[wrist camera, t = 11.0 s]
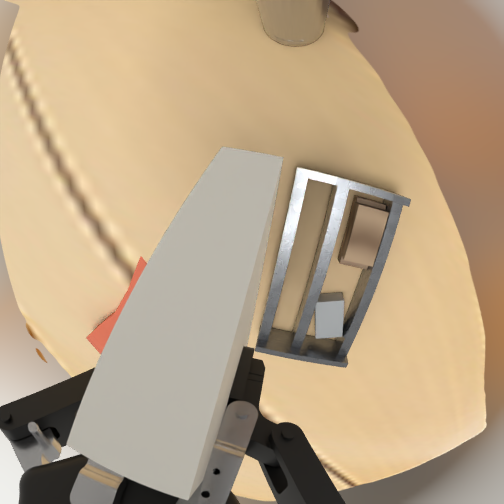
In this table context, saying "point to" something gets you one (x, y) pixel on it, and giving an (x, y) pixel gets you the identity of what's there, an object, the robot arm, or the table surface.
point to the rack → (324, 274)
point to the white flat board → (183, 332)
